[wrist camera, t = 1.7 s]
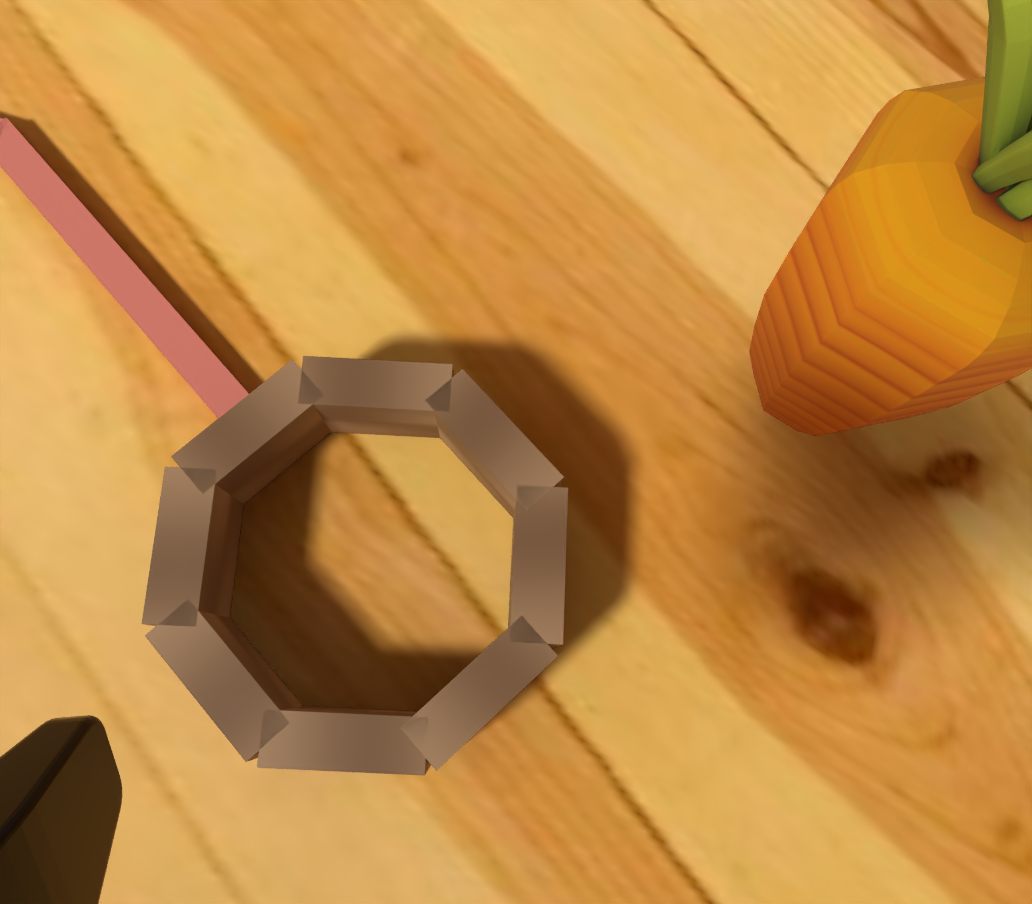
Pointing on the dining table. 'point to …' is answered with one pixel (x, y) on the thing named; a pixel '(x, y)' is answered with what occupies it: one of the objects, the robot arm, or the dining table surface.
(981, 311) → the carrot
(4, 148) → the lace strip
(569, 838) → the dining table surface
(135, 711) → the dining table surface
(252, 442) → the bead ring
